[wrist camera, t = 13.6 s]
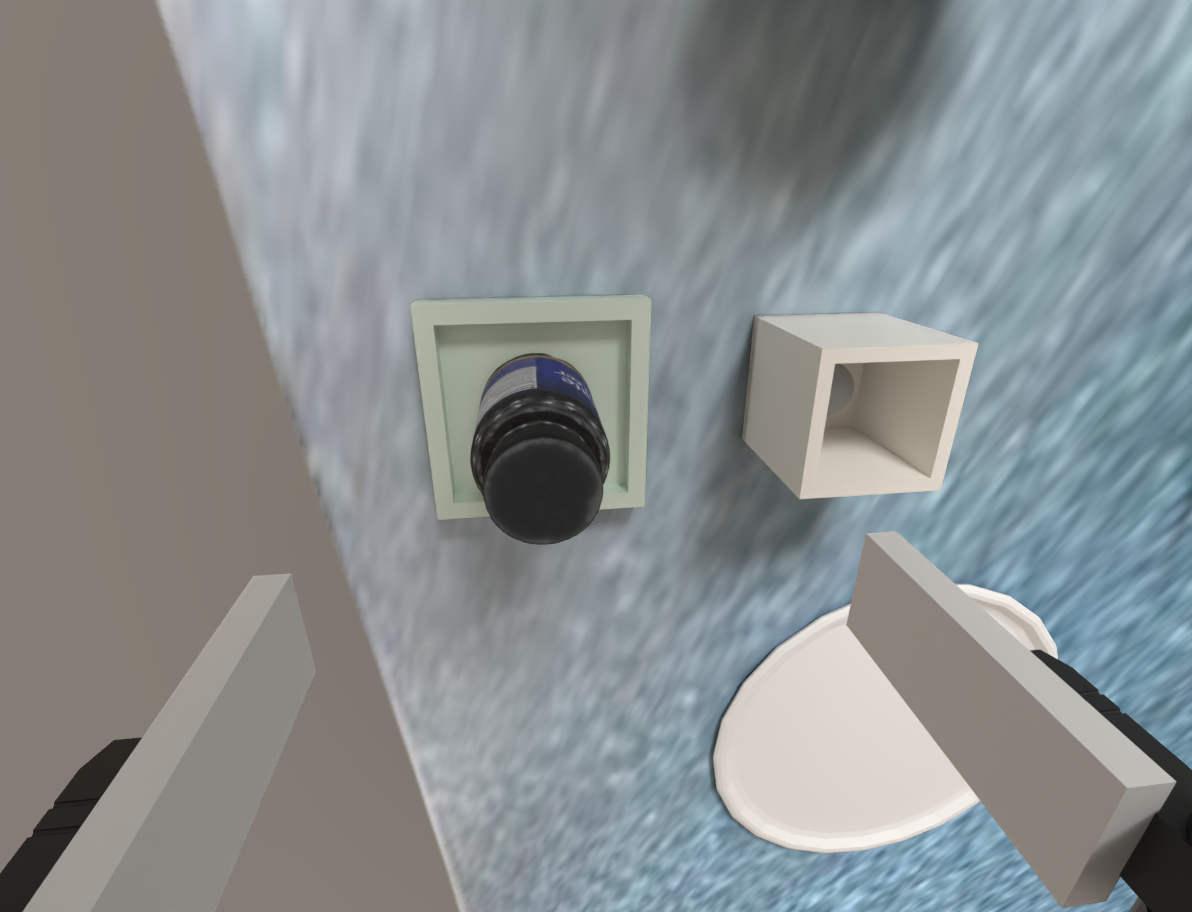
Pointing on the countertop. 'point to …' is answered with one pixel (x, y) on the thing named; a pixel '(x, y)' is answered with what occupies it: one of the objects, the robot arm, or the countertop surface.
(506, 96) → the countertop surface
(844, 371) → the ball
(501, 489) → the pill bottle
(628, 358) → the tray
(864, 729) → the plate
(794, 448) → the open cream box
